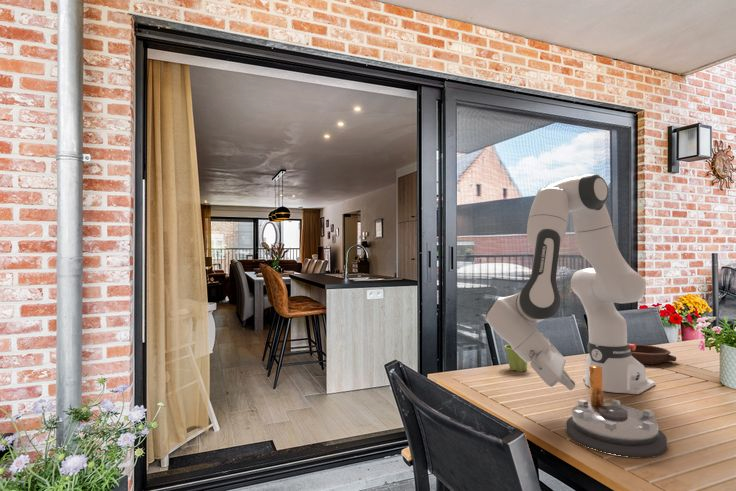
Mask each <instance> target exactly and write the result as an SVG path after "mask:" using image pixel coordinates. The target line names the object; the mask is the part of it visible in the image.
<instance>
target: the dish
mask: <svg viewBox="0 0 736 491" xmlns="http://www.w3.org/2000/svg"><path fill="white" fill-rule="evenodd" d="M635 347H636V350H634V351H633V350H631V354H632V355H631V356H633V357H634V358H635V359H636V360H637V361H638V362H640V363H641V364H642V365H660V364H663V363H665V362H676V361H677V356H675V355H671V353H672V352H671V351H670V350H668V349H666V348H663V347H659V346H655V345H647V344H635Z"/></svg>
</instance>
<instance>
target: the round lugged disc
mask: <svg viewBox="0 0 736 491" xmlns="http://www.w3.org/2000/svg"><path fill="white" fill-rule="evenodd" d="M589 376H590V387H589V398H590V400H589V401H590V402H588V400H585V399H578V400H577V405H575V406H574V407H573V408H572V409H571V410H572V411H571V412H572V416H573V425H574V427H575V428H576V429H577V430H578V431H580V432H581V433H583V434H585V435H587V436H589V437H592V438H594V439H598V440H601V441H605V442H609V443H614V444H621V445H646V444H651V443H653V442H655V441H657V440H658V438H659V432H658V429H659V422H658V420H657V419H656V417H654V415H655V414H654V412H655V411H653V410H651V409H648V408H647V409H643V410H640V409H637V408H634V407H631V406H627V405H623V404H621V400H619V399H616V398H613V399H610V400H609V401H610V402H609V403H608V402H604V391H603V375H602V367H601V366H596V365H591V366H589ZM572 416H571V417H572Z"/></svg>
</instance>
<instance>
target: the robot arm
mask: <svg viewBox="0 0 736 491" xmlns="http://www.w3.org/2000/svg"><path fill="white" fill-rule="evenodd" d="M608 196H609V189H608V184H607V182H606V180H605V179H604V178H603V177H602V176H601V175H599V174H594V173H591V174H583V175H581V176H574V177H569V178H565V179H562V180H560V181H557V182H554V183H551V184H550V183H549V184H546V185H544V186H542V187H541V188H539V189H538V191H537V193H536V195H535V197H534V199H533V202H532V204H531V207H530V211H529V215H528V219H527V226H526V239H527V243H528V244H529V246H531V247H532V248H533V259H532V264H531V272H530V277H529V280H528V281H527V283H526V284H525V285H524V286H523V288H522V289H521V291H520V292H517V293H515V294H511V295H509V296H508V295H507V296H503V297H501V296H498V297H497V298H496V299H494V301H493V302H492V303H491V304H490V306H489V307H488V309H487V310H486V312H485V313H486V314H485V320H486V321H487V323H488V324H489V327H491V328H492V330H493V331H494V332H495V333H496V334H497V335H498V336H499V337H500V338H501V339H502V340H504V341H505V342H507V343H508V345H510V346H511V348H512V349H513V350H514V351H515V352H516V353H517V354H518V355H519V356H520V357H521V358H522V359H523V360H524V361H525V362H526V363H527V364H528V363H529V364H530V367H531V368H532V370H533V371H534V372H535V373H536V374H537V375H538V376H539V378H540V379H541V380H542V381H543V382H544V383H545V384H546V385H547V386H549V387H552V388H553V387H554V386H555V385H556V384H558V383H560V384H562V385H563V386H565V387H566V388H567V389H568V390H569V391H572V390H573V389H575V388H576V382H575V381H574V380H573V379H572V378H571V376H570V375H569V374H568V373H567V371H566V370H565V365H566V359H565V357H564V356H563V355H562V354H561V352H560V351H559V350H558V349H557V348H556V347H555V346H554V345H553V343H552V342H550V338H549V337H547V335H546V334H544V333H542V332H540V331H539V330H538V329H537V328H536V326H535V325H536V324H537V323H539V322H542V321H543V320H546V319H550V318H551V317H553V316H554V315H555V314H556V313H557V312H558V311H559V309H560V306H561V295H560V291H559V289H558V284H557V271H558V262H559V255H560V250H561V248H562V245H563V242H564V239H565V237H566V233H567V228H568V222H569V215H571V214H572V224H573V231H574V235H575V239H576V243H577V248H578V252H579V254H580V255H581V257H582V258H584V260H586V261H587V262H588V263H589V264H590V265H591V267H586V268H583V269H578V270H577V271H575V272H574V273H573V274H572V276H571V278H570V288H571V290H572V291H573V293H574V294H575V295H576V296H577V297H578V299H579V300H580V302H581V305H582V306H583V309H584V311H585V314H586V318H587V328H588V330H587V331H588V342H587V353H588V355H587V356H586V360H585V375H583V376H582V379H583V381H585V382H584V384H585V385H586V386H587V387H589V388H590V376H589V366H591V365H596V366H601V367H602V375H603V392H607V393H617V394H632V395H640V394H641V393H643V392H645V391H647V390H648V389H650V388H652V387H654V386H655V385H656V382H655V381H654V380H652V379H650V378H647V373H646V368H645V365H644V364H641V363H640V362H638V361H637V360H636V359H635V358H634V357H633V356H631V355H632V354H631V350H633V351H634V350H636V347H635V344H634V343H628V328H627V326H628V325H627V320H626V318H624V316H623V315H622V314H621V313H620V312H619V311H618V310H617V308H616V306H615V303H616V304H630V303H631V304H632V303H637V302H639V301H640V300H641V299H642V298H643V297H644V295H645V293H646V287H647V286H646V281H645V279H644V277H643V276H642V275H641V274H640V273H639V272H637V271H636V270H634V269H633V268H632V267H631V266H630V265H629V263H628V262H627V261H626V260H625V258H624V257H623V255H622V253H621V251H620V249H619V247H618V244H617V241H616V237H615V233H614V228H613V224H612V219H611V217H610V216H611V215H610V213H609V211H608V208H607V205H606V202H607V199H608Z"/></svg>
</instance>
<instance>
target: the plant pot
mask: <svg viewBox="0 0 736 491" xmlns="http://www.w3.org/2000/svg"><path fill="white" fill-rule="evenodd" d="M504 348H505V351H506V355H507V360H508V365H509V370H511V371H516V372H525V371H527V369H528V362H527V363H526V362H525V361H524V360H523V359H522V358H521V357H520V356H519V355H518V354H517V353H516V352H515V351H514V350H513V349H512V348H511V346H510V344H505V345H504Z"/></svg>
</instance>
